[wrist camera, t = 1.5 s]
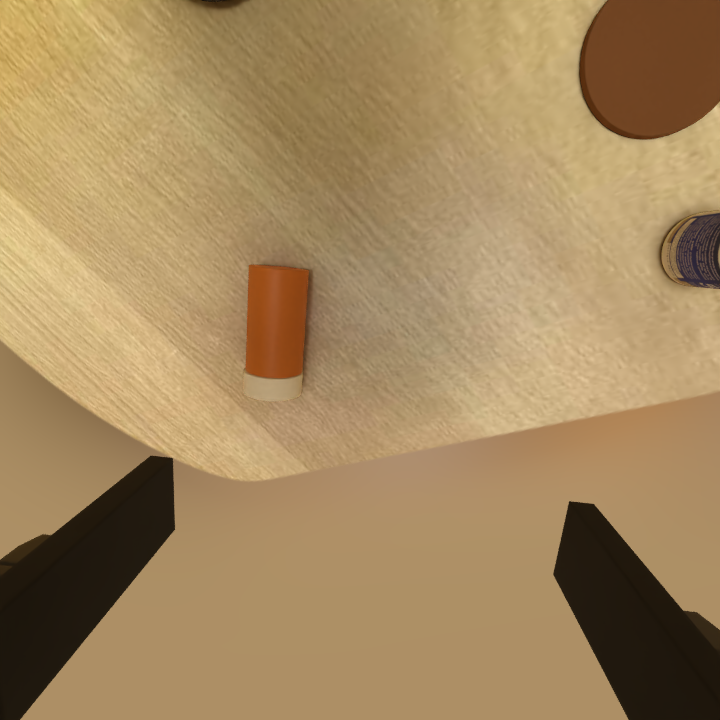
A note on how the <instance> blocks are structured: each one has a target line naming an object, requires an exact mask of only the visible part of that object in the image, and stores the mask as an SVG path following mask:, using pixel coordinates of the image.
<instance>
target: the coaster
mask: <svg viewBox="0 0 720 720" xmlns="http://www.w3.org/2000/svg"><path fill="white" fill-rule="evenodd" d="M580 79H581V86H582V90H583V95H584V97H585V100H586V102H587V104H588V106H589V108H590V110H591V111H592V113H593V114H594V115H595V117H596V118H597V119H598V120H599V121H600V122H601V123H602V124H603V125H604V126H606V127H607V128H609V129H610V130H612V131H614V132H616V133H618V134H620V135H623V136H626V137H629V138H636V139H652V138H659V137H663V136H667V135H670V134H673V133H675V132H678V131H680V130H682V129H684V128H686V127H688V126H690V125H692V124H694V123H695V122H697V121H698V120H700V119H701V118H702V117H704V116H705V115H706V114H707V113H708V112H710V111H711V110H712V109H713V108H714V107H715V106H716V105H717V104H718V103H719V101H720V0H608V1H607V2H606V3H605V5H604V6H603V7H602V8H601V10H600V11H599V13H598V14H597V16H596V17H595V19H594V21H593V22H592V24H591V26H590V28H589V30H588V33H587V36H586V38H585V41H584V45H583V49H582V53H581V61H580Z"/></svg>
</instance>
